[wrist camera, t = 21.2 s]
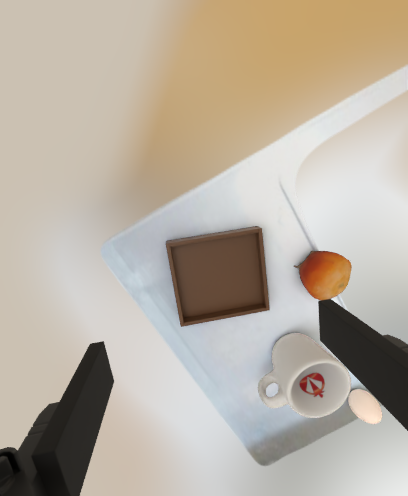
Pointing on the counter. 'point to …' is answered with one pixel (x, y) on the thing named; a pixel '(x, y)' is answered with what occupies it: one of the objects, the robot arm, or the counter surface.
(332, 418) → the counter surface
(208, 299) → the tray
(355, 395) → the egg
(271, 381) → the cup
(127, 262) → the counter surface
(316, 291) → the fruit
